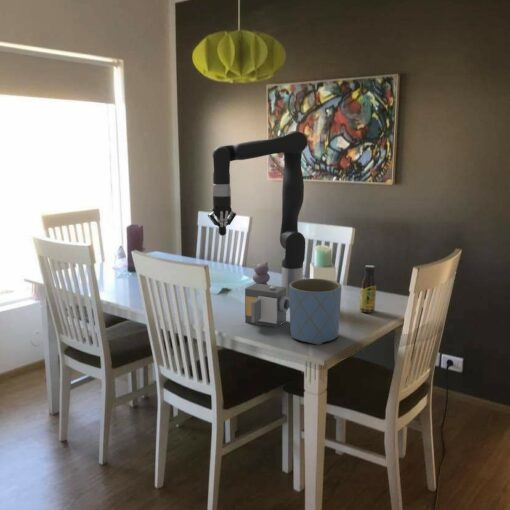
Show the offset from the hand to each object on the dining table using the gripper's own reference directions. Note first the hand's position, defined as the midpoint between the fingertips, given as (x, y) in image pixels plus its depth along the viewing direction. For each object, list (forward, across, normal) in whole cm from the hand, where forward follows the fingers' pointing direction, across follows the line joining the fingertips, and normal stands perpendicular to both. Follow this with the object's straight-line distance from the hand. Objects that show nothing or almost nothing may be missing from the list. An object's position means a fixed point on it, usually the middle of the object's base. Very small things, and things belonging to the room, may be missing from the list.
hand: (222, 235), depth 236 cm
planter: (+32, +13, -50) cm, 61 cm away
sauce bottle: (+32, +50, -37) cm, 70 cm away
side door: (+30, +1, -33) cm, 45 cm away
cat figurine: (+32, +31, +20) cm, 49 cm away
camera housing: (+32, +7, -27) cm, 42 cm away
